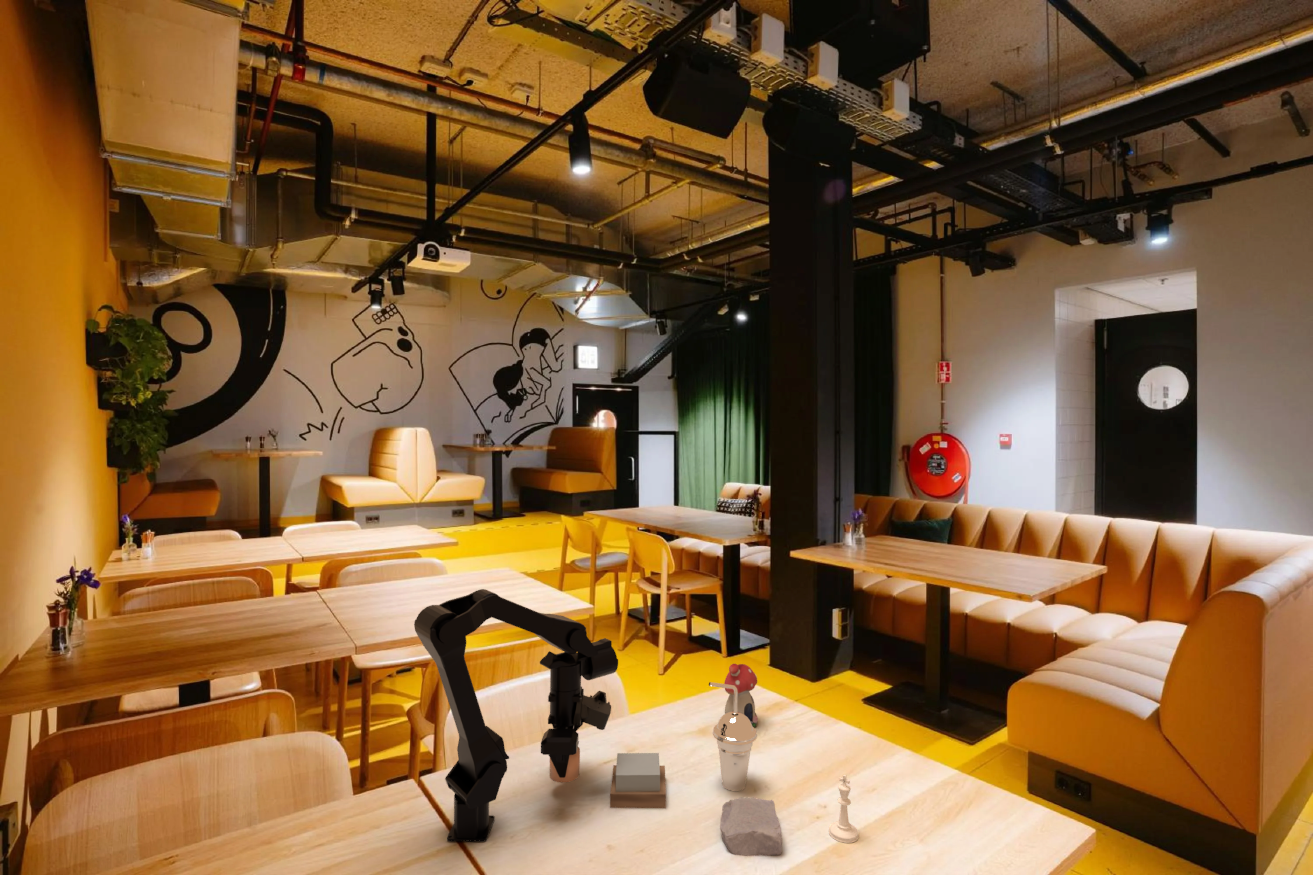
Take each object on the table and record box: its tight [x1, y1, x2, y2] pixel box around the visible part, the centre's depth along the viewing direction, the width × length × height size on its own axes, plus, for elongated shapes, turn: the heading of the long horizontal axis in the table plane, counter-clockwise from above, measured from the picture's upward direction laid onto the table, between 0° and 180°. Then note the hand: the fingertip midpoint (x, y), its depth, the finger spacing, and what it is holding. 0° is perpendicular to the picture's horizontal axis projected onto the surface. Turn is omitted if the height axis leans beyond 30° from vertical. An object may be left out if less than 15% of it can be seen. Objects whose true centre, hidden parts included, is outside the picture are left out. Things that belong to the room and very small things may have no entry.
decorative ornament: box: [723, 663, 759, 729], centre depth 151 cm, size 9×7×15 cm
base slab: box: [609, 764, 667, 809], centre depth 123 cm, size 10×10×3 cm
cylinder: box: [548, 746, 581, 783], centre depth 123 cm, size 6×6×4 cm
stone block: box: [719, 796, 783, 857], centre depth 111 cm, size 12×5×10 cm
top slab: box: [616, 752, 661, 792], centre depth 123 cm, size 8×8×3 cm
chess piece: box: [828, 774, 860, 844], centre depth 111 cm, size 5×5×10 cm
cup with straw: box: [708, 681, 758, 792], centre depth 126 cm, size 8×9×20 cm
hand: (564, 768), depth 123 cm, fingers closed on cylinder, 6 cm apart
